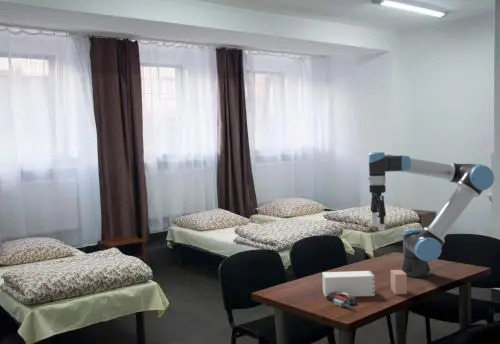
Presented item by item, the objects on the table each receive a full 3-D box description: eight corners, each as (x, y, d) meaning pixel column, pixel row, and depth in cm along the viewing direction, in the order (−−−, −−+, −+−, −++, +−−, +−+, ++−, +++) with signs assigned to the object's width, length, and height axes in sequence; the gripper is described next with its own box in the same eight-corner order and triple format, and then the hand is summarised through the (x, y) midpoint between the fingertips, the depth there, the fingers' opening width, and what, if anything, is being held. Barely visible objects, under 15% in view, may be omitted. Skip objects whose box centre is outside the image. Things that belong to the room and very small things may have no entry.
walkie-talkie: (322, 300, 227) (353, 313, 210) (321, 291, 227) (353, 302, 210) (337, 297, 232) (369, 308, 215) (337, 287, 232) (369, 298, 214)
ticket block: (370, 289, 239) (369, 270, 239) (374, 295, 230) (374, 275, 230) (322, 291, 239) (322, 272, 239) (325, 297, 230) (325, 277, 230)
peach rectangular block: (401, 288, 239) (401, 269, 238) (406, 293, 231) (406, 274, 230) (390, 289, 239) (390, 270, 238) (395, 294, 231) (395, 274, 230)
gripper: (363, 182, 260) (364, 224, 261) (375, 187, 235) (376, 233, 237) (378, 181, 260) (379, 223, 261) (392, 186, 235) (392, 232, 236)
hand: (378, 228), depth 249 cm, fingers open, 13 cm apart
